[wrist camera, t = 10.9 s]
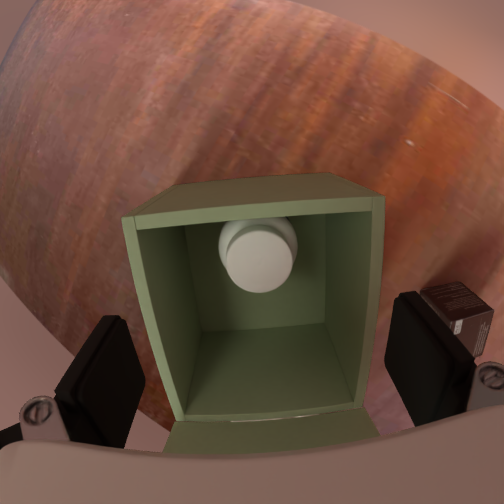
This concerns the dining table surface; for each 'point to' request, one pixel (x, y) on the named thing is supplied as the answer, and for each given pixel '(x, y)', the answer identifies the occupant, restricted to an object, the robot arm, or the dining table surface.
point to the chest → (260, 297)
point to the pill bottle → (258, 252)
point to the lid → (270, 434)
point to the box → (461, 314)
